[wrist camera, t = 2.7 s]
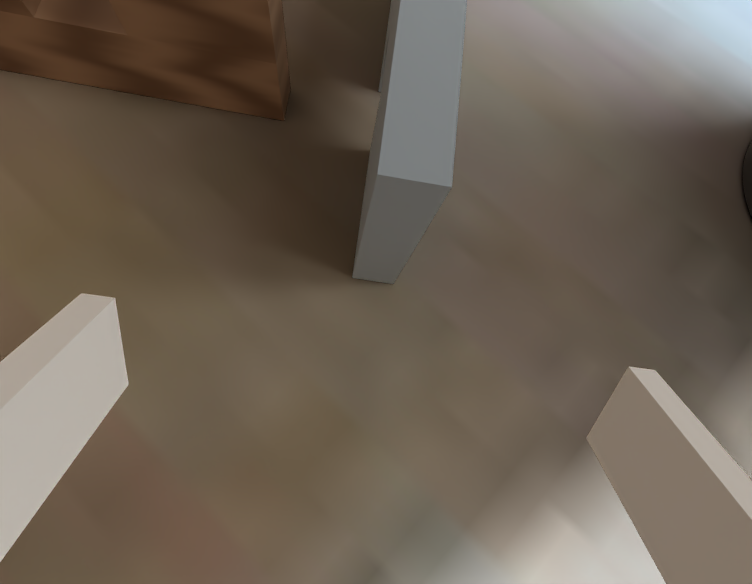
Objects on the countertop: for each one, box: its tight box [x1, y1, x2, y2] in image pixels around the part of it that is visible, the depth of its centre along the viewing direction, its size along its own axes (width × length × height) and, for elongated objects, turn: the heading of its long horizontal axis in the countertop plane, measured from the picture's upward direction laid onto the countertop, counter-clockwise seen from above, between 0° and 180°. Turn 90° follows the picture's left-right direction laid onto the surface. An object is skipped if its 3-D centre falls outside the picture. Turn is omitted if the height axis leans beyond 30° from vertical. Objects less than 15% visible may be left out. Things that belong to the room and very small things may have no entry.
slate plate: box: [352, 0, 467, 284], centre depth 23 cm, size 2×22×12 cm, turn 173°
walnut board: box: [0, 0, 291, 121], centre depth 22 cm, size 20×2×10 cm, turn 83°
